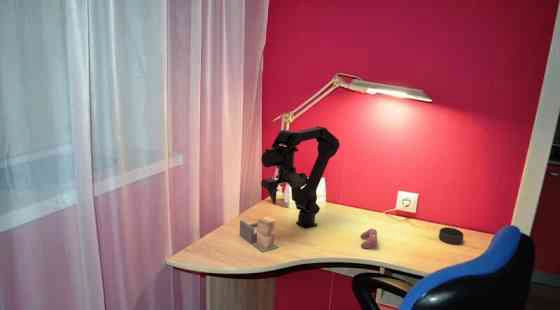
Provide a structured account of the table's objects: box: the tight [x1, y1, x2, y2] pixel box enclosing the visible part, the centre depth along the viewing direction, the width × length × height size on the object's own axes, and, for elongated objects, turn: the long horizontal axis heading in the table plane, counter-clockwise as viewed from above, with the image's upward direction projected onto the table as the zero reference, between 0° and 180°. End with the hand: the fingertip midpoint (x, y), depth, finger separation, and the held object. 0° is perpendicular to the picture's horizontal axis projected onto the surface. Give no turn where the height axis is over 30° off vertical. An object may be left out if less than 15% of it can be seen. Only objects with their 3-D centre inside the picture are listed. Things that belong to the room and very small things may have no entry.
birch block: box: [257, 216, 276, 249], centre depth 144 cm, size 4×4×10 cm
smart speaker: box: [438, 226, 464, 245], centre depth 159 cm, size 9×9×4 cm
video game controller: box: [360, 227, 378, 249], centre depth 151 cm, size 10×5×7 cm, turn 169°
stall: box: [239, 219, 258, 245], centre depth 152 cm, size 9×9×6 cm
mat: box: [251, 242, 279, 253], centre depth 146 cm, size 7×7×1 cm
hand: (283, 202), depth 154 cm, fingers open, 9 cm apart
